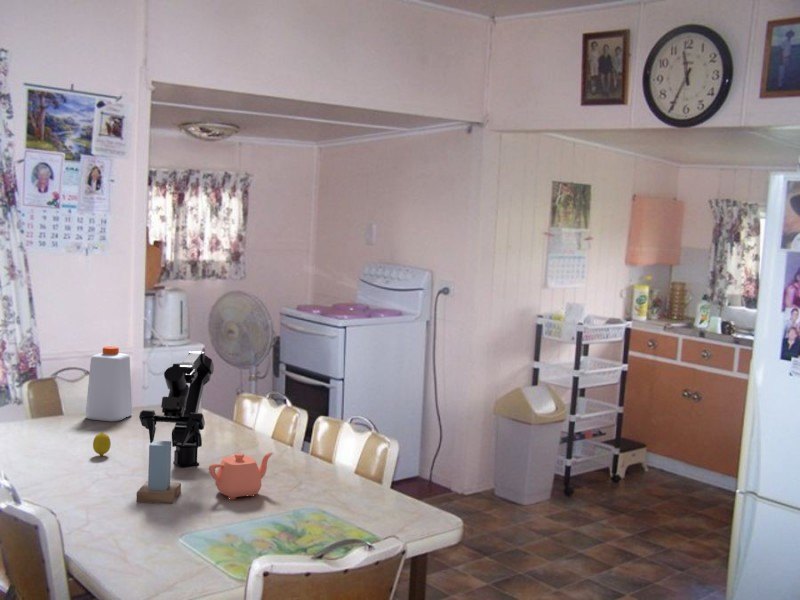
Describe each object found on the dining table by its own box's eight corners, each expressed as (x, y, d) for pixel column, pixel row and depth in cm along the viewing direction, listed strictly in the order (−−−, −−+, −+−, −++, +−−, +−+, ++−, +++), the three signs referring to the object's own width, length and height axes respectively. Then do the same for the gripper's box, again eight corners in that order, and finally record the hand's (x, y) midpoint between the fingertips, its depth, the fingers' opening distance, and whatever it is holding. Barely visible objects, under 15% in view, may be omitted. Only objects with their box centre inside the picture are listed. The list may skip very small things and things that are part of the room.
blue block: (152, 484, 240) (154, 440, 239) (170, 485, 240) (171, 441, 239) (147, 489, 235) (149, 445, 234) (165, 490, 235) (166, 445, 234)
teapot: (280, 496, 245) (282, 456, 244) (215, 505, 234) (217, 463, 233) (263, 483, 256) (264, 444, 255) (200, 491, 245) (201, 451, 244)
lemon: (104, 458, 272) (105, 435, 271) (89, 457, 273) (89, 433, 272) (113, 454, 277) (114, 431, 277) (98, 452, 279) (99, 429, 278)
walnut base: (146, 491, 243) (146, 481, 242) (180, 492, 243) (180, 482, 243) (136, 502, 233) (136, 492, 232) (172, 504, 233) (172, 493, 233)
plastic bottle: (81, 419, 322) (82, 348, 319) (101, 411, 336) (102, 343, 334) (117, 423, 319) (118, 351, 317) (135, 414, 334) (137, 346, 332)
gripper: (141, 383, 248) (129, 428, 238) (204, 387, 248) (194, 432, 238) (148, 403, 256) (136, 447, 246) (208, 406, 257) (199, 451, 247)
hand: (166, 444), depth 244 cm, fingers open, 9 cm apart
